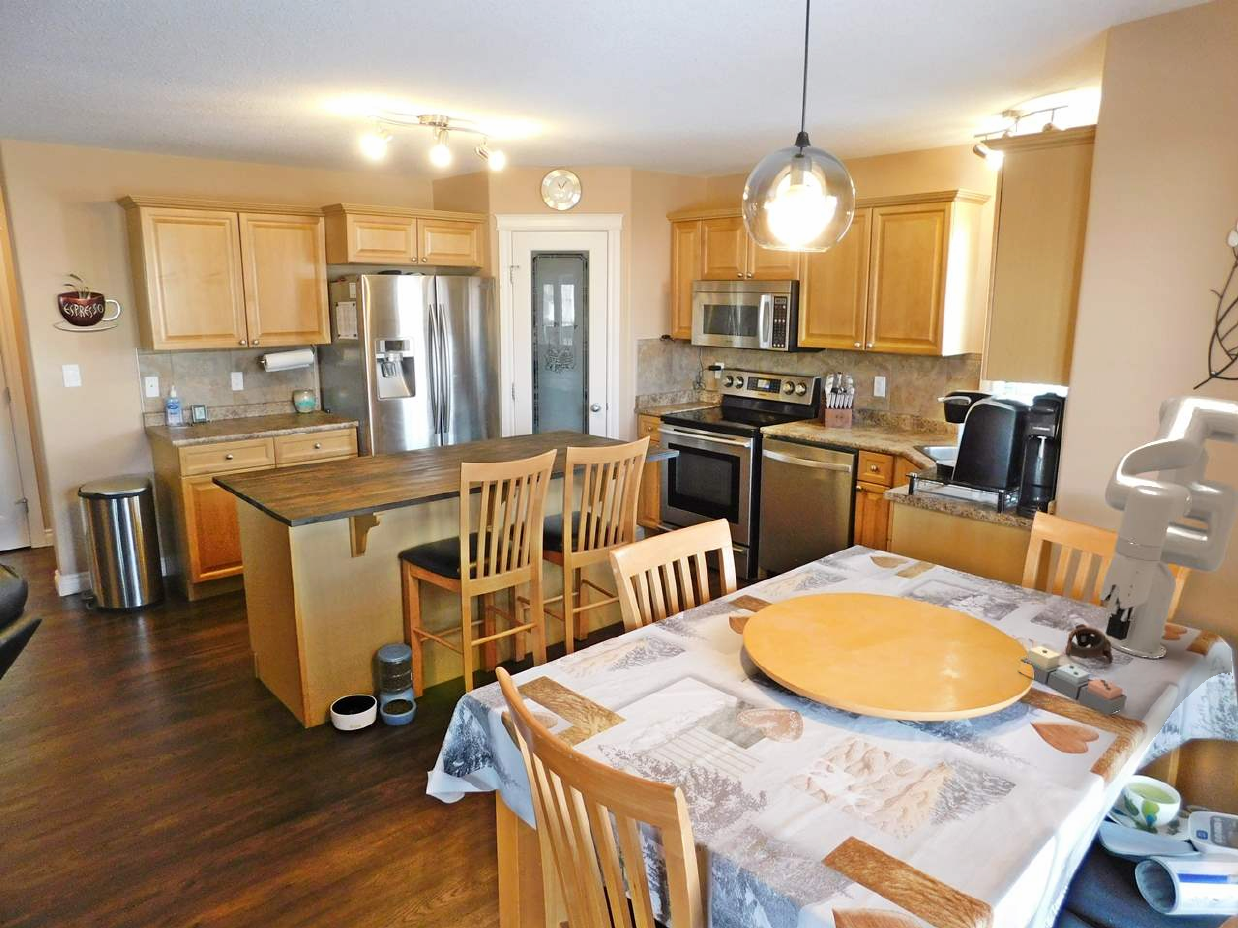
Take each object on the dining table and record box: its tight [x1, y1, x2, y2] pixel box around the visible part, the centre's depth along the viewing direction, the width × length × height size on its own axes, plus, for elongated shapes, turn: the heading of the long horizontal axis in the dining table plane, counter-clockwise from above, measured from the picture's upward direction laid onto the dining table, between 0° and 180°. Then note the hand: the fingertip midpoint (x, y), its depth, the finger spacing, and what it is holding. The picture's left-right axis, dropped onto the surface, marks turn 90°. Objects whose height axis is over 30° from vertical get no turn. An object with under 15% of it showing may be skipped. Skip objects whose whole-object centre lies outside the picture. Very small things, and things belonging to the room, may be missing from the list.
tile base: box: [1077, 685, 1128, 716], centre depth 162 cm, size 6×6×3 cm
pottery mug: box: [1064, 623, 1114, 664], centre depth 184 cm, size 12×10×8 cm
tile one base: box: [1020, 656, 1063, 686], centre depth 173 cm, size 6×6×3 cm
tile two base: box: [1046, 671, 1094, 701], centre depth 168 cm, size 6×6×3 cm
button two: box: [1056, 663, 1091, 685], centre depth 167 cm, size 4×4×4 cm
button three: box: [1087, 678, 1123, 700], centre depth 162 cm, size 4×4×4 cm
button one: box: [1026, 645, 1061, 670], centre depth 172 cm, size 4×4×4 cm
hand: (1115, 636), depth 160 cm, fingers closed
